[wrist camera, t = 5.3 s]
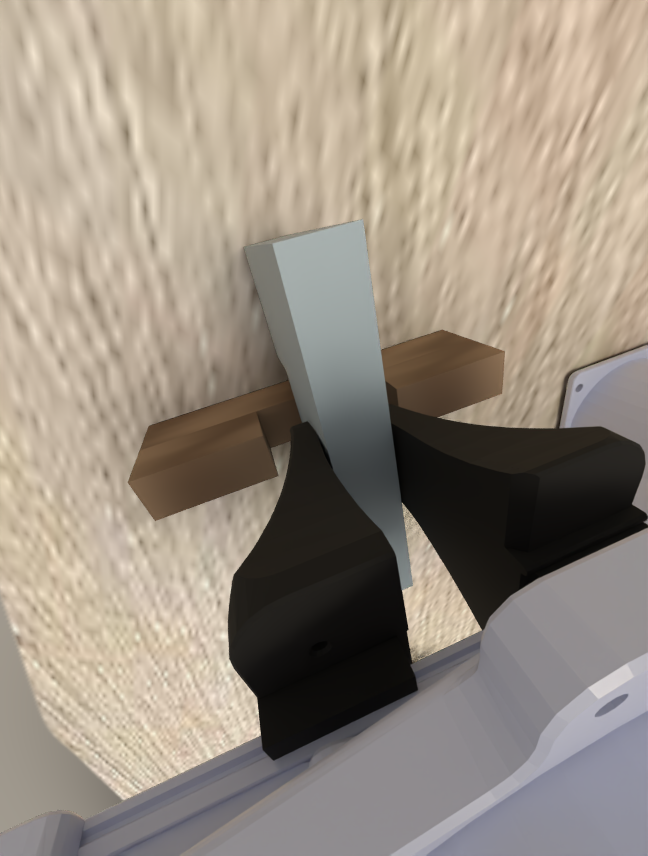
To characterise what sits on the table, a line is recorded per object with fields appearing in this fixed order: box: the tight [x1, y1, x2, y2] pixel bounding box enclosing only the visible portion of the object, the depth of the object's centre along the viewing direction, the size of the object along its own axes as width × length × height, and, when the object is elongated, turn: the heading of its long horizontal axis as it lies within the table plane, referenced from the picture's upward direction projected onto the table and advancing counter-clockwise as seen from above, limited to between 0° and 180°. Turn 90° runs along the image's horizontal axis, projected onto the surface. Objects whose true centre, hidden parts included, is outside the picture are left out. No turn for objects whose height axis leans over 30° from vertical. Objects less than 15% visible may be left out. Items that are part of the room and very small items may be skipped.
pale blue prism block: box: [244, 219, 413, 590], centre depth 12 cm, size 12×2×7 cm, turn 13°
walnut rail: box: [128, 330, 505, 521], centre depth 14 cm, size 14×2×4 cm, turn 103°
